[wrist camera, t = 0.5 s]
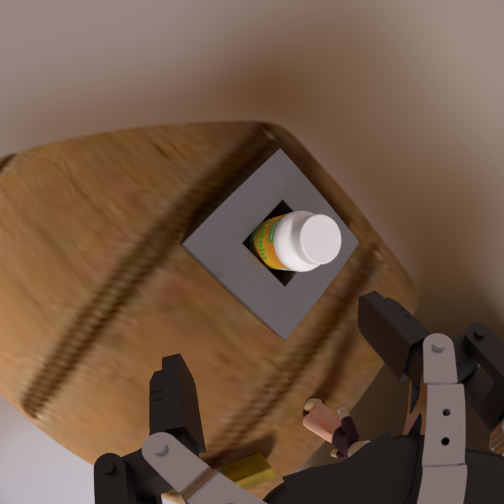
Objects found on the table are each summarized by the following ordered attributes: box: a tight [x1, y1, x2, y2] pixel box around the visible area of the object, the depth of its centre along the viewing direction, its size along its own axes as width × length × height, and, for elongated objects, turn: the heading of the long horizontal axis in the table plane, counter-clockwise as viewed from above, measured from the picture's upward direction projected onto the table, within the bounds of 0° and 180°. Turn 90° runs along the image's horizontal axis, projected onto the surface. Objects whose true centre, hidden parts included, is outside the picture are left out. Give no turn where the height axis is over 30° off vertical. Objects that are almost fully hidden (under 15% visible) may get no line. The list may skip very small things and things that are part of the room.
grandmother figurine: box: [303, 398, 370, 459], centre depth 27 cm, size 8×4×13 cm, turn 11°
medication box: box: [182, 452, 276, 504], centre depth 27 cm, size 12×3×4 cm, turn 106°
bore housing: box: [180, 149, 359, 340], centre depth 30 cm, size 14×14×3 cm
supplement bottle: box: [250, 211, 341, 272], centre depth 26 cm, size 5×5×10 cm
